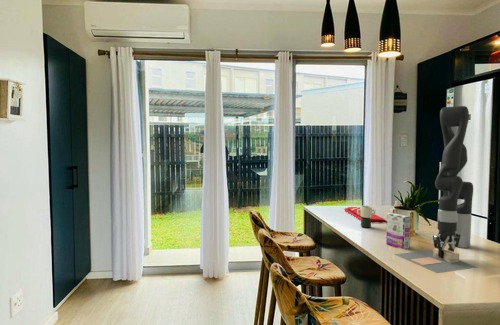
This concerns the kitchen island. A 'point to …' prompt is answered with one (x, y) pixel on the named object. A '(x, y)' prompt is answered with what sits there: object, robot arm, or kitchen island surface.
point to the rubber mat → (434, 262)
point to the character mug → (365, 215)
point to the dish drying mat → (354, 212)
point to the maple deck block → (447, 255)
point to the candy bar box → (398, 230)
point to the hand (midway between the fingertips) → (445, 257)
